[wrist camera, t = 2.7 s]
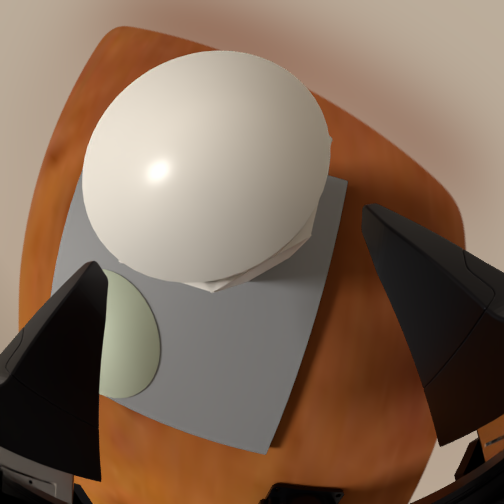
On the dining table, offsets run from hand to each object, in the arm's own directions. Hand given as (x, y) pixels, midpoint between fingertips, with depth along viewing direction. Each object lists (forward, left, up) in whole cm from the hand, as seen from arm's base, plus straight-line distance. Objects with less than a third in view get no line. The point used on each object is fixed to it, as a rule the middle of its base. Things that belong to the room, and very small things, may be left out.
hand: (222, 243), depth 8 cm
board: (+5, +3, -10) cm, 11 cm away
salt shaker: (+1, -2, -9) cm, 9 cm away
